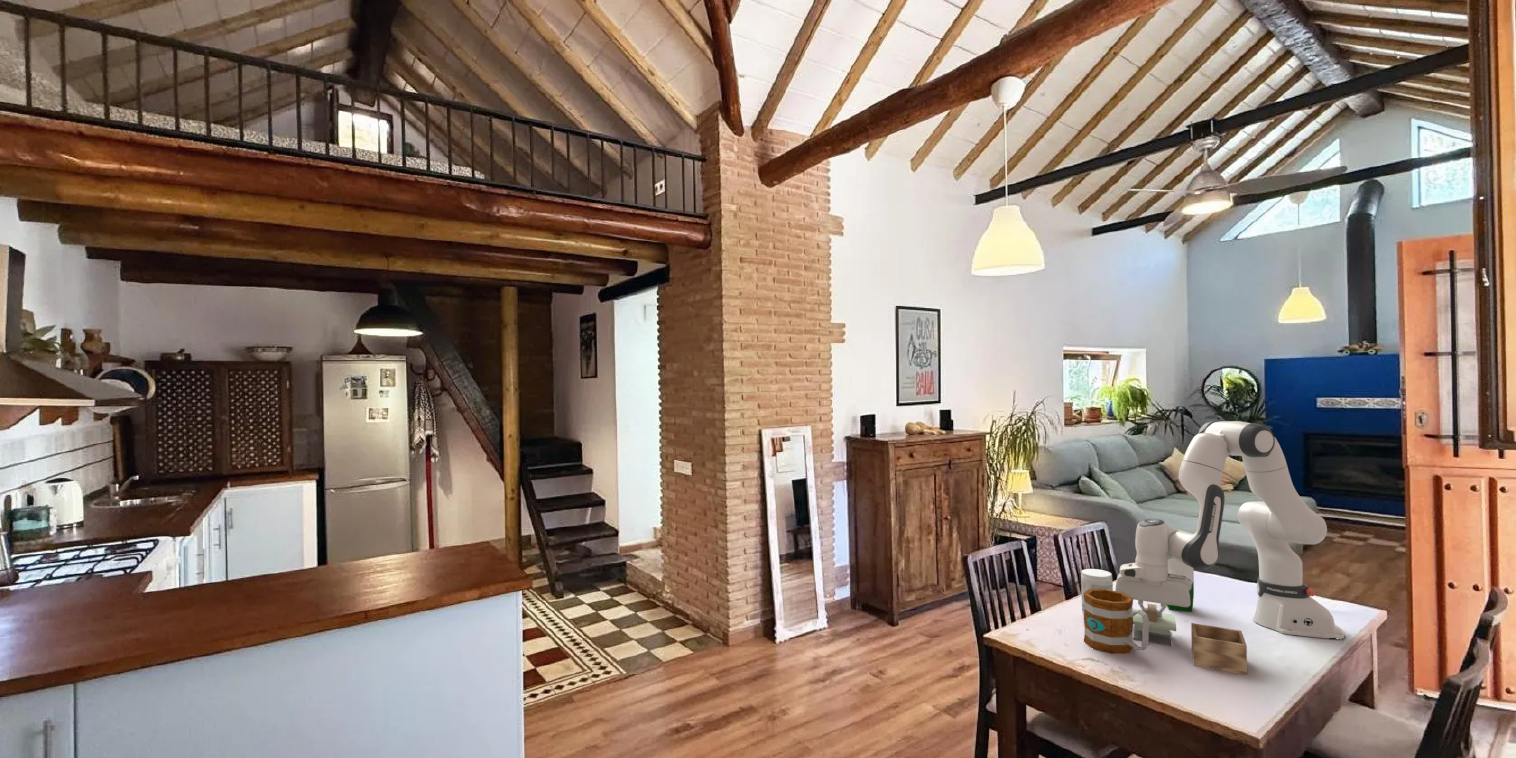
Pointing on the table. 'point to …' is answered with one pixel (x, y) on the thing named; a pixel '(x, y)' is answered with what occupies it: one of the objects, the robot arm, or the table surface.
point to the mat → (1154, 637)
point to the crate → (1219, 648)
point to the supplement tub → (1095, 581)
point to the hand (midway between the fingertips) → (1151, 615)
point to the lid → (1156, 621)
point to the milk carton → (1187, 571)
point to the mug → (1112, 622)
